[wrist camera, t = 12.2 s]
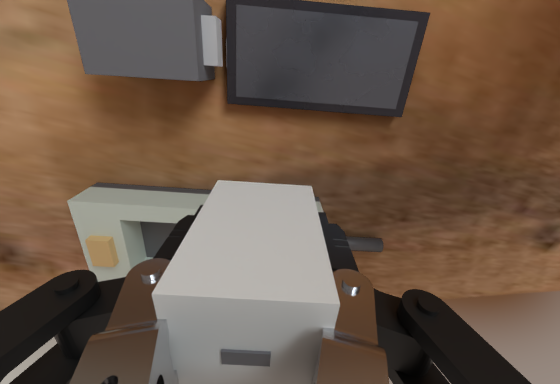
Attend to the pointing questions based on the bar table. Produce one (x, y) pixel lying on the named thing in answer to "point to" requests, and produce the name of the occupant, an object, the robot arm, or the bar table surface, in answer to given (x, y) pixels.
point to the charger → (249, 288)
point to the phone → (321, 55)
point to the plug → (148, 38)
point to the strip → (142, 224)
